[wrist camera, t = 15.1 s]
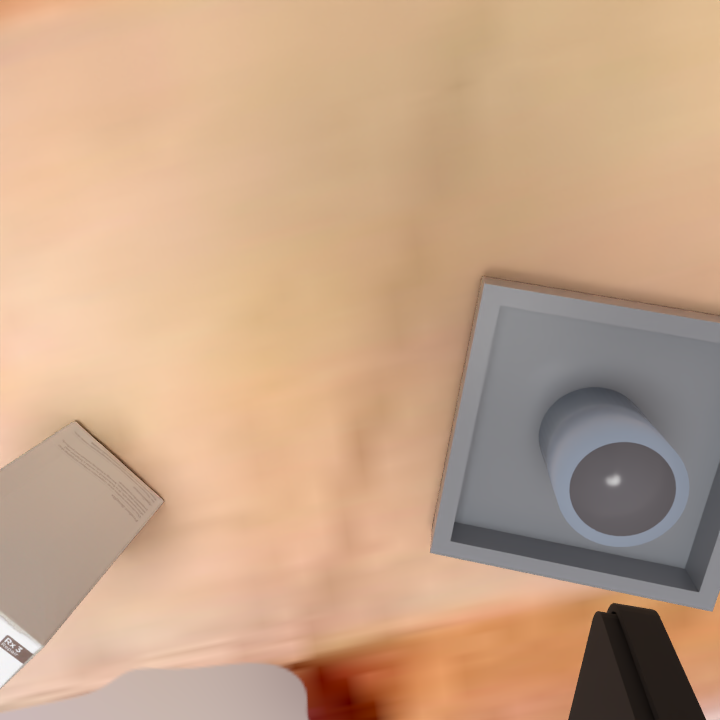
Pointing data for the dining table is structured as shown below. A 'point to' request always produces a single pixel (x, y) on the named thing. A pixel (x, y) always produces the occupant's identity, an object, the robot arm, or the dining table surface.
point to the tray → (523, 420)
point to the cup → (611, 468)
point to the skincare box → (60, 535)
